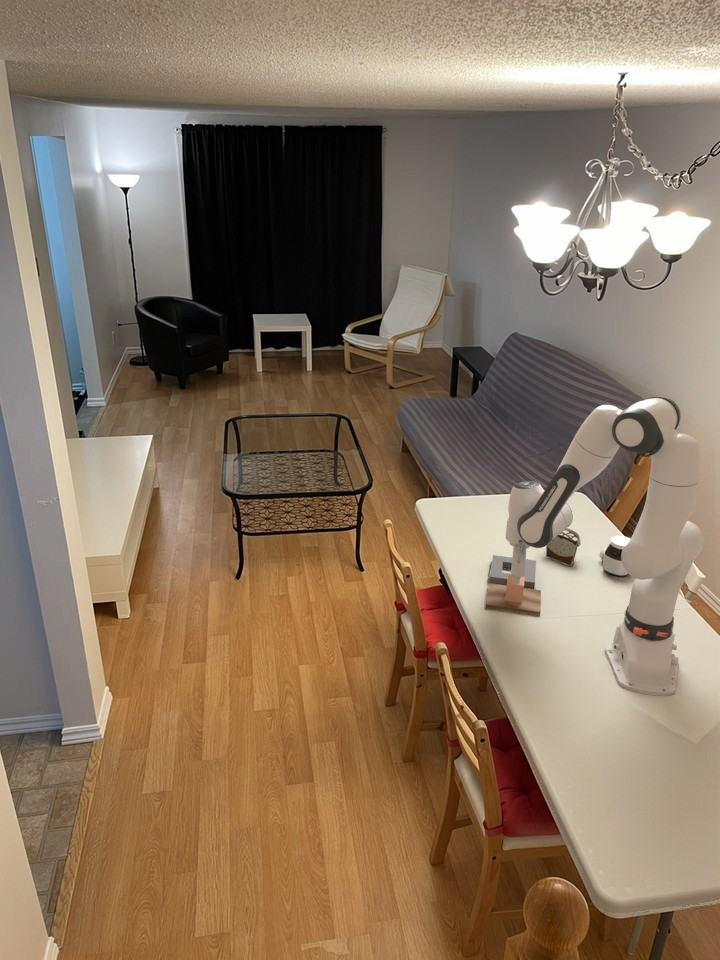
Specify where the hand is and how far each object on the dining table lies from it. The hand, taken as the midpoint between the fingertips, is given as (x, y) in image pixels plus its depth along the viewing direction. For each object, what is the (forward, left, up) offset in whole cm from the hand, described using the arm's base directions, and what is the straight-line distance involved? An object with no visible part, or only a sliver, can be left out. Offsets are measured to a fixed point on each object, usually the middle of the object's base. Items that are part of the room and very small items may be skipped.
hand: (517, 574), depth 220 cm
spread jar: (+28, -31, -10) cm, 43 cm away
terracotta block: (0, 0, -8) cm, 8 cm away
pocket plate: (+16, +1, -10) cm, 18 cm away
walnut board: (0, 0, -10) cm, 10 cm away
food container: (+31, -15, -10) cm, 36 cm away
